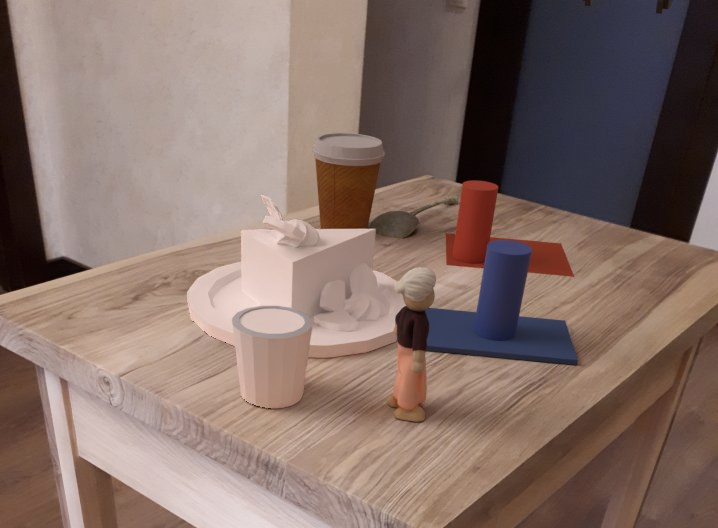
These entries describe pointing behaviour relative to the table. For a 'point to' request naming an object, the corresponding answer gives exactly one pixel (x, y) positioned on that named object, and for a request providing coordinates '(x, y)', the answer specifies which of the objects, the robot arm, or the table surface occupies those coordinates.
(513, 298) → the blue cylinder
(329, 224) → the disposable coffee cup
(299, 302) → the dish
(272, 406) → the white tapered cup
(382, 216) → the soupspoon
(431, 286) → the grandmother figurine
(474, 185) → the red cylinder
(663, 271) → the table surface
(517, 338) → the blue mat
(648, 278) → the table surface
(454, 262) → the red mat
